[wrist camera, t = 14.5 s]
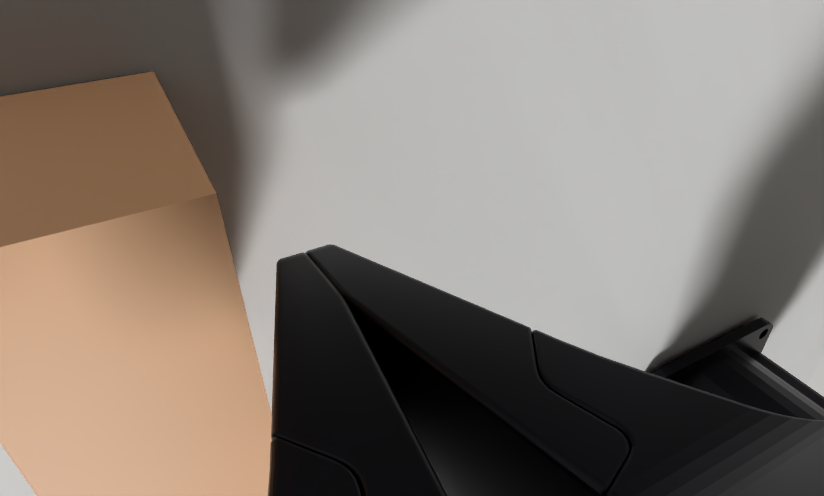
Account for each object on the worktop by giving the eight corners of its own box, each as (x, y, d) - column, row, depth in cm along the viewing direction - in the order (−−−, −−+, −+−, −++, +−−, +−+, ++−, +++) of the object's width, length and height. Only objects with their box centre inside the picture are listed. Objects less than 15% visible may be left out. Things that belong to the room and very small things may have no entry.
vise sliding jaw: (154, 71, 8) (216, 193, 5) (226, 329, 11) (293, 499, 8) (-55, 105, 7) (-117, 275, 4) (84, 377, 10) (102, 588, 7)
